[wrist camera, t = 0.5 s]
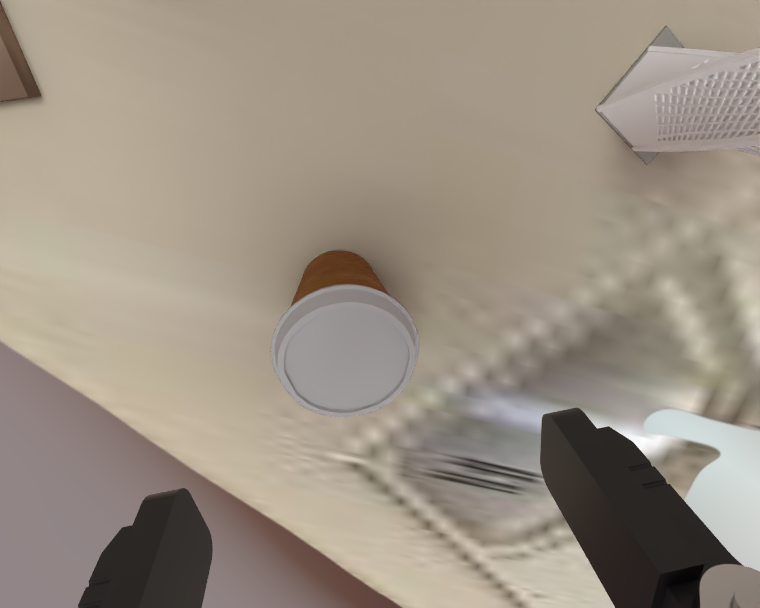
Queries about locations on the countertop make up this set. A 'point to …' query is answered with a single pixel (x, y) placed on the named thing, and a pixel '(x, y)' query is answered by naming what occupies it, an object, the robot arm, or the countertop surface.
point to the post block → (13, 66)
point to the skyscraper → (686, 100)
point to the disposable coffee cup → (344, 340)
